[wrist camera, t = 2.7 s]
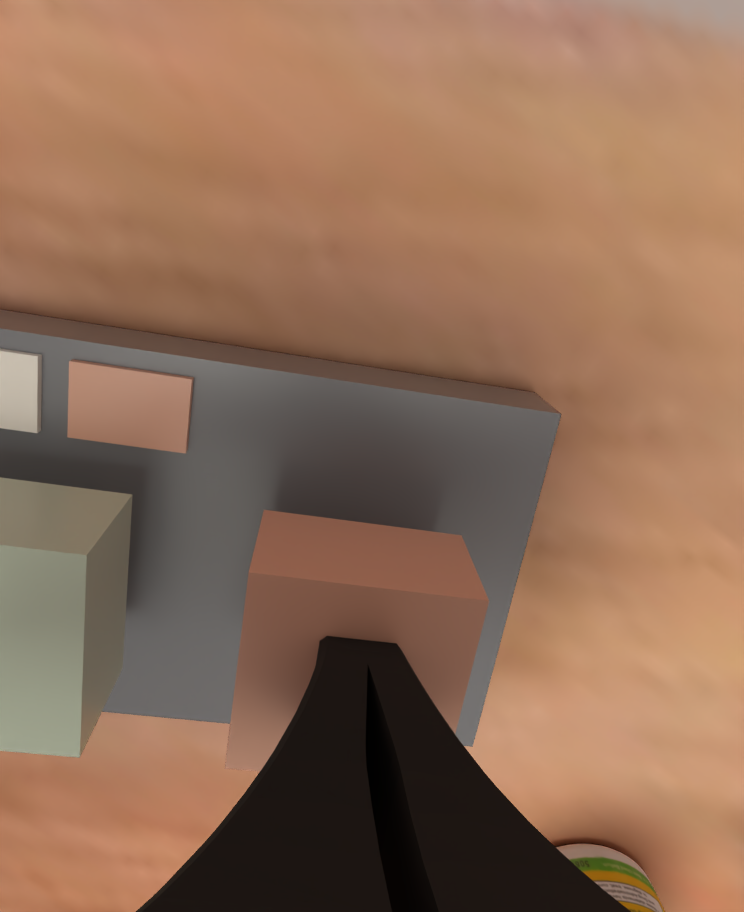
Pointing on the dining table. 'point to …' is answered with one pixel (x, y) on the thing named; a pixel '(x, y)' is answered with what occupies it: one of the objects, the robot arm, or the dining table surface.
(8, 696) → the sage key
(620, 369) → the dining table surface
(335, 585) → the terracotta key
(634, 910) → the supplement bottle
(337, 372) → the grey key panel base
